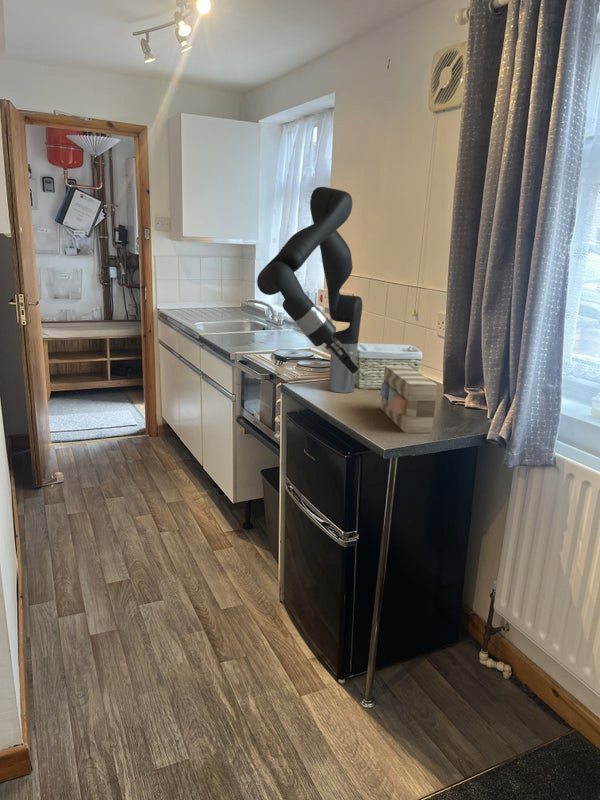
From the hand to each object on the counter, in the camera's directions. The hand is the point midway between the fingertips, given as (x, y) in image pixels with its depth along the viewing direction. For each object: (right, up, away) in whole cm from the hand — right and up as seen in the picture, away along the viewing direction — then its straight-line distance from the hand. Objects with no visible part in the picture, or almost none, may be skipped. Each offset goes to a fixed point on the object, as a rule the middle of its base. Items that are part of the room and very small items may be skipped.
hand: (355, 371), depth 163 cm
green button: (+13, -9, +12) cm, 20 cm away
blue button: (+12, -7, +20) cm, 24 cm away
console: (+16, -14, +14) cm, 26 cm away
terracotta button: (+12, -11, +4) cm, 17 cm away
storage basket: (+16, -3, +56) cm, 58 cm away
